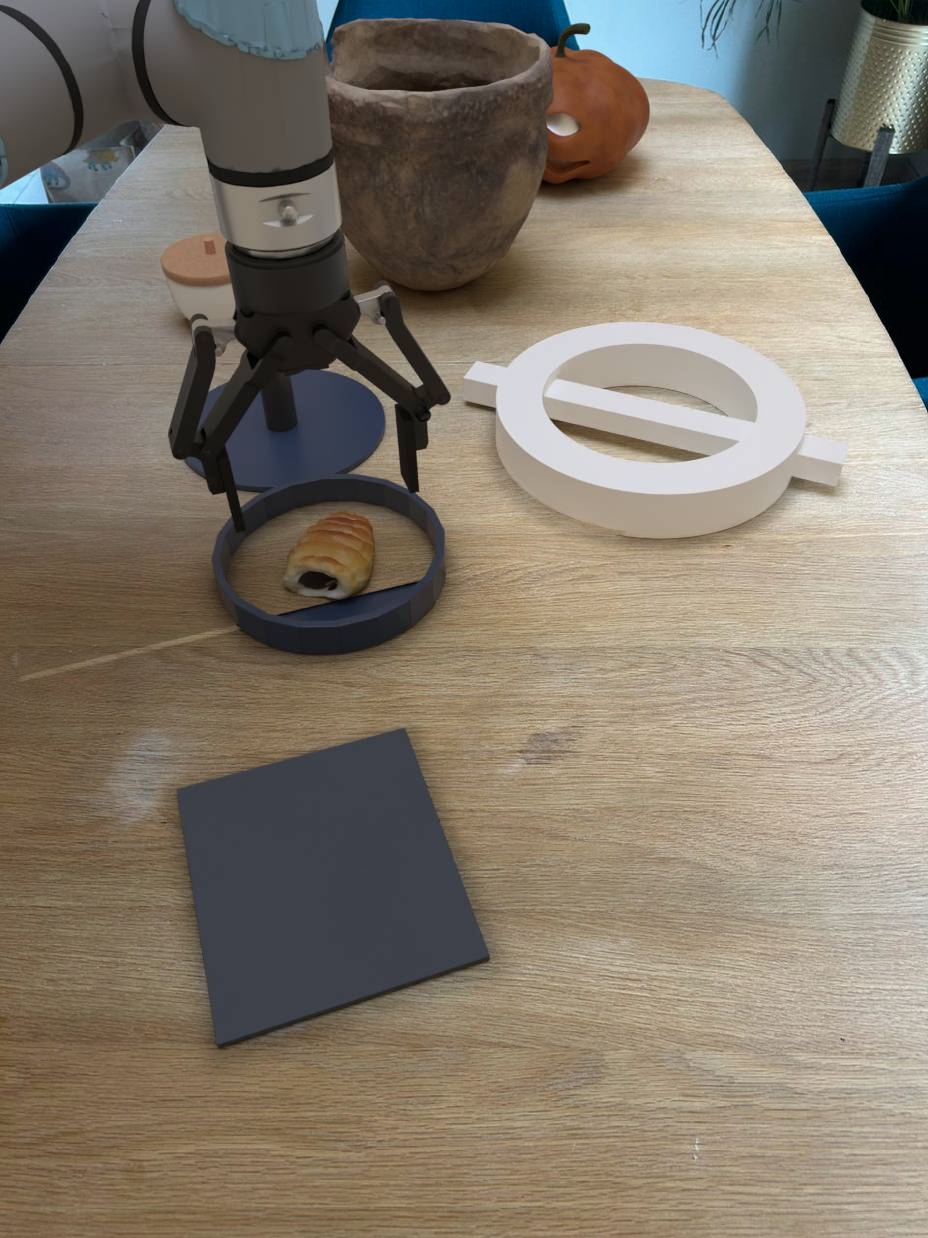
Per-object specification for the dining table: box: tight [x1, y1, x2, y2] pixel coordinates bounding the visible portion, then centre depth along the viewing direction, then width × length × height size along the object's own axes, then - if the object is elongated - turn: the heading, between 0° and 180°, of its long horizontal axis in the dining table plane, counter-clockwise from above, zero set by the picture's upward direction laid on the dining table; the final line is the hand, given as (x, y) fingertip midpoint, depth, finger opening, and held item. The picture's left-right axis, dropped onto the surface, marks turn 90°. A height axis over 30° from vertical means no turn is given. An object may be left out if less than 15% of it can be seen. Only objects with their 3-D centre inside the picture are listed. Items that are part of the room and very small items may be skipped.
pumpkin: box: [542, 22, 651, 185], centre depth 135 cm, size 25×25×19 cm
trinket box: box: [160, 232, 235, 321], centre depth 109 cm, size 11×11×9 cm
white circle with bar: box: [462, 321, 850, 540], centre depth 93 cm, size 28×28×5 cm
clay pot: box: [322, 17, 554, 292], centre depth 109 cm, size 26×26×25 cm
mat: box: [176, 727, 491, 1049], centre depth 63 cm, size 18×16×1 cm
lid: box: [183, 369, 386, 493], centre depth 94 cm, size 20×20×9 cm
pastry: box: [282, 510, 375, 600], centre depth 82 cm, size 9×7×4 cm
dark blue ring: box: [211, 473, 447, 656], centre depth 82 cm, size 19×19×3 cm
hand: (325, 502), depth 77 cm, fingers open, 13 cm apart
